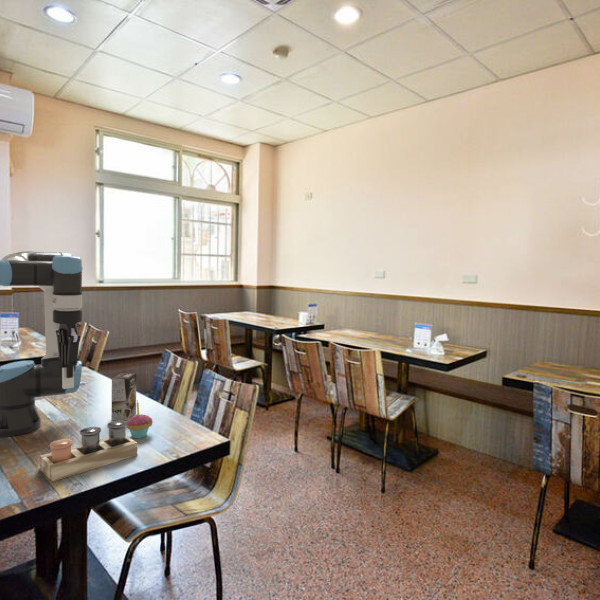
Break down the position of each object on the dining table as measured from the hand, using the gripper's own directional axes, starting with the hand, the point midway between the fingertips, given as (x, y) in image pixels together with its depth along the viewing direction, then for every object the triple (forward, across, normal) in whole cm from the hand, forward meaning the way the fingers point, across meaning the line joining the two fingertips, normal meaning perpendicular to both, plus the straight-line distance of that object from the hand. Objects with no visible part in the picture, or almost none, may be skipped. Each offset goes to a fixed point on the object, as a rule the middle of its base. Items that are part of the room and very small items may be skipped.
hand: (68, 387), depth 127 cm
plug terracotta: (+20, +7, -4) cm, 22 cm away
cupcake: (+23, -2, +24) cm, 33 cm away
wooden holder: (+22, +7, +4) cm, 23 cm away
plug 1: (+19, +7, +4) cm, 20 cm away
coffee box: (+23, -24, +28) cm, 44 cm away
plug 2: (+19, +7, +12) cm, 23 cm away
